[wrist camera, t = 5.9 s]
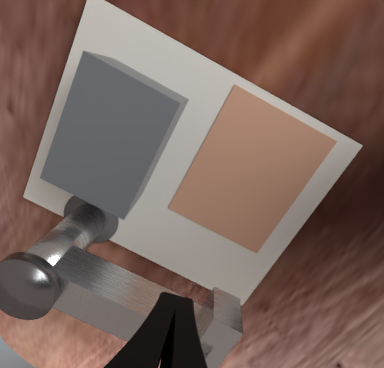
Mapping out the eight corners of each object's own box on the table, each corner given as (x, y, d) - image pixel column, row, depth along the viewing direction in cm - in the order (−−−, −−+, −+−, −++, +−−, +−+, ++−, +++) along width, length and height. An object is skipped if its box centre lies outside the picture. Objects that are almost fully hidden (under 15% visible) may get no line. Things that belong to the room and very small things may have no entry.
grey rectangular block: (189, 99, 17) (180, 103, 13) (142, 194, 19) (123, 220, 16) (113, 58, 17) (83, 50, 13) (75, 159, 19) (39, 177, 15)
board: (355, 142, 18) (363, 146, 17) (234, 305, 23) (235, 315, 22) (96, -3, 17) (88, -9, 16) (28, 202, 22) (18, 209, 21)
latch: (203, 305, 22) (195, 411, 15) (58, 237, 21) (-25, 315, 14) (235, 255, 20) (244, 348, 13) (79, 179, 19) (-2, 234, 12)
